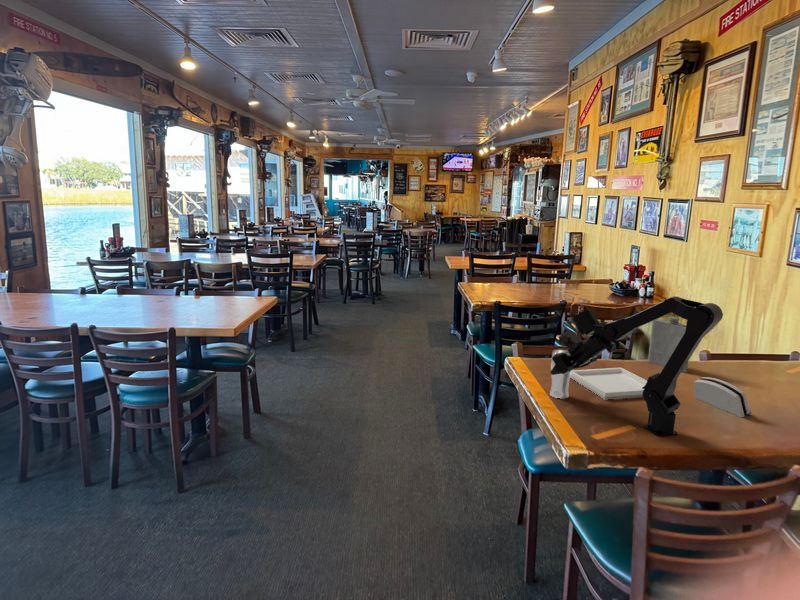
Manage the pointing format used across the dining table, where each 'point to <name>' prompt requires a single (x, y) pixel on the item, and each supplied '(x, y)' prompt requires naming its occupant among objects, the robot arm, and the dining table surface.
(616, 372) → the serving tray
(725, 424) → the dining table surface
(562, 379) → the beer glass
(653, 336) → the hip flask
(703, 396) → the grey half-round block
